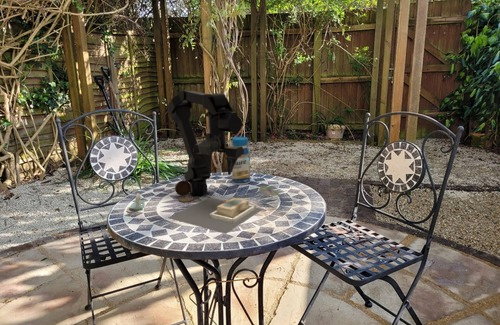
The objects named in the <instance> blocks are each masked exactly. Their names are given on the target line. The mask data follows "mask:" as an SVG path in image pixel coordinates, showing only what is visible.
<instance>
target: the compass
mask: <svg viewBox="0 0 500 325" xmlns="http://www.w3.org/2000/svg"><path fill="white" fill-rule="evenodd" d="M174 191H175V193H176V194H177V195H178V196H181V197H179V198H178V200H177V201H178V202H180V203H192V202H194V201H195V199H199V198H200V196H199V197H198V196H191V195H188V194H189V193H190V191H191V185H190V183H189V182H187V181H185V179H184V180H183V179H182V180H180V181H178V182H177V183H176V185H175V186H174Z"/></svg>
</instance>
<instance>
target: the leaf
mask: <svg viewBox="0 0 500 325" xmlns="http://www.w3.org/2000/svg"><path fill="white" fill-rule="evenodd" d="M259 191H260V193H261V195H262V197H263V198H268V199H269V198H270V195H271V196H273V197H275V196H277V197H278V196H280V195H279V192H278V191H277V190H274V189H273V190H272V188H271V187H270V186H266V185H264V186H263V185H261V186H260V187H259Z"/></svg>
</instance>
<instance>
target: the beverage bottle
mask: <svg viewBox="0 0 500 325" xmlns="http://www.w3.org/2000/svg"><path fill="white" fill-rule="evenodd" d="M231 141H232V143H231V144H232V146H241V147H243V149H244V154H243V155H241V156H240V157H238V159H237V161H236V163H235V165H234V167H233V170H232V172H231V183H233V184H235V185H238V186H239V185H240V186H242V185H243V186H244V185H247V184H249V183H251V167H250V166H251V164H250V163H251V157H250V154H251V152H250V149H249V148H248V146H249V139H248V137H246V136H234V137H232V139H231Z"/></svg>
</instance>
